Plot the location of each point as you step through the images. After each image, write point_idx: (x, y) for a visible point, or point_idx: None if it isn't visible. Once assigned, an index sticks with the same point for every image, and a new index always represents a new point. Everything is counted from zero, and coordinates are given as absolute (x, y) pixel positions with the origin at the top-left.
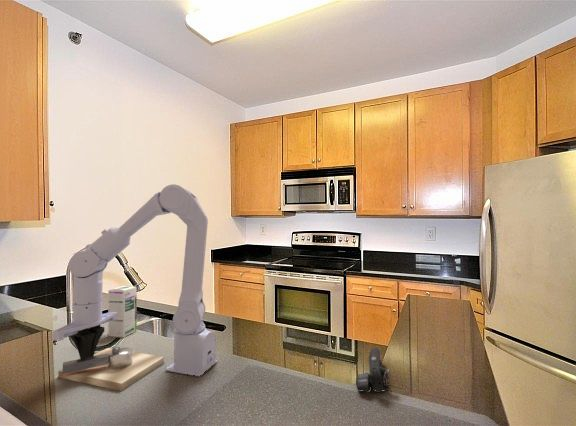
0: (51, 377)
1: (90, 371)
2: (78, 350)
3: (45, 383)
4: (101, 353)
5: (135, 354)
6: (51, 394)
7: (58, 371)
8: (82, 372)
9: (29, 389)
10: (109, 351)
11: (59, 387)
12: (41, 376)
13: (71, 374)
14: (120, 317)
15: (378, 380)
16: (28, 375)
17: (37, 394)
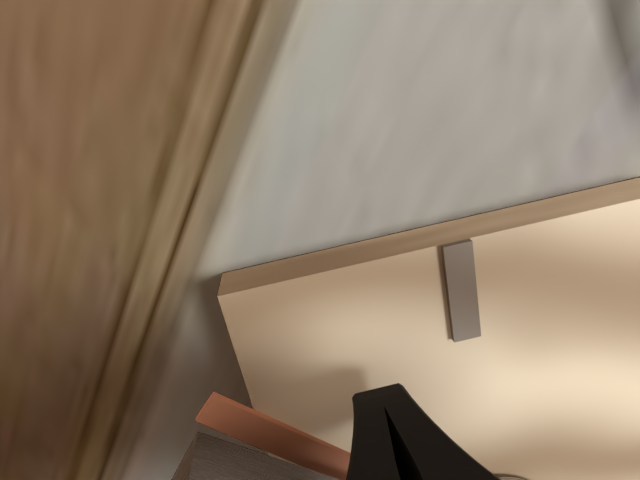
0: (193, 227)
1: (338, 477)
2: (350, 469)
3: (132, 288)
4: (575, 256)
5: (635, 471)
6: (111, 453)
7: (217, 296)
8: (299, 463)
9: (31, 287)
10: (627, 273)
11: (172, 411)
12: (150, 138)
13: (243, 437)
14: None
15: None
16: (81, 5)
17: (53, 394)
